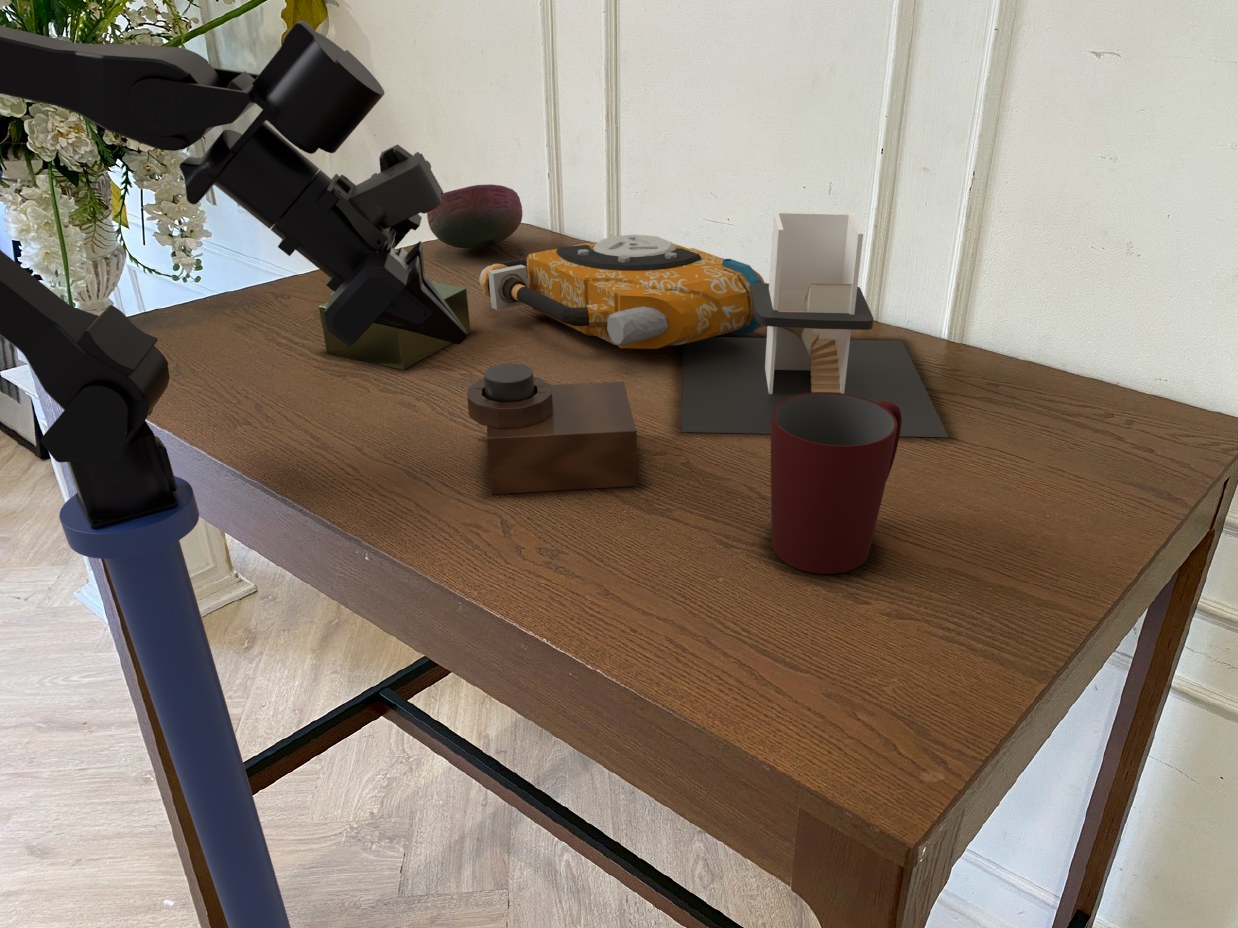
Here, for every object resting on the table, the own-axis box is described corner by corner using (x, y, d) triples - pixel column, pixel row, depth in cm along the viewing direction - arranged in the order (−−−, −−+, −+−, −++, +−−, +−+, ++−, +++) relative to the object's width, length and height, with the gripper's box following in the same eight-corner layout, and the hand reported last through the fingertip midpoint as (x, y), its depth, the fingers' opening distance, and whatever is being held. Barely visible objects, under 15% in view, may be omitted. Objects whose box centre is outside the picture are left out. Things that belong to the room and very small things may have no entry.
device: (607, 307, 96) (459, 241, 116) (611, 387, 100) (467, 310, 120) (781, 265, 108) (620, 212, 128) (778, 339, 113) (622, 276, 133)
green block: (394, 375, 103) (384, 309, 99) (317, 357, 106) (305, 293, 103) (470, 332, 114) (465, 271, 110) (398, 318, 117) (390, 258, 113)
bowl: (542, 227, 133) (531, 169, 134) (446, 224, 126) (436, 164, 127) (503, 272, 147) (493, 220, 147) (415, 272, 140) (406, 217, 141)
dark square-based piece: (681, 432, 94) (685, 257, 85) (683, 336, 115) (685, 188, 106) (949, 437, 94) (979, 264, 86) (902, 341, 115) (922, 194, 106)
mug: (840, 494, 85) (855, 372, 79) (926, 538, 79) (949, 410, 73) (738, 544, 78) (746, 413, 72) (825, 595, 72) (840, 459, 66)
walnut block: (473, 495, 83) (465, 418, 79) (475, 440, 91) (468, 368, 88) (636, 486, 85) (636, 410, 81) (624, 433, 93) (623, 362, 90)
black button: (485, 406, 82) (483, 383, 81) (485, 386, 85) (483, 364, 84) (535, 404, 83) (533, 381, 82) (533, 384, 86) (532, 362, 85)
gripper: (349, 144, 64) (535, 308, 71) (378, 95, 79) (528, 234, 87) (242, 269, 66) (432, 414, 74) (291, 198, 82) (443, 324, 90)
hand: (463, 338), depth 81 cm, fingers closed
